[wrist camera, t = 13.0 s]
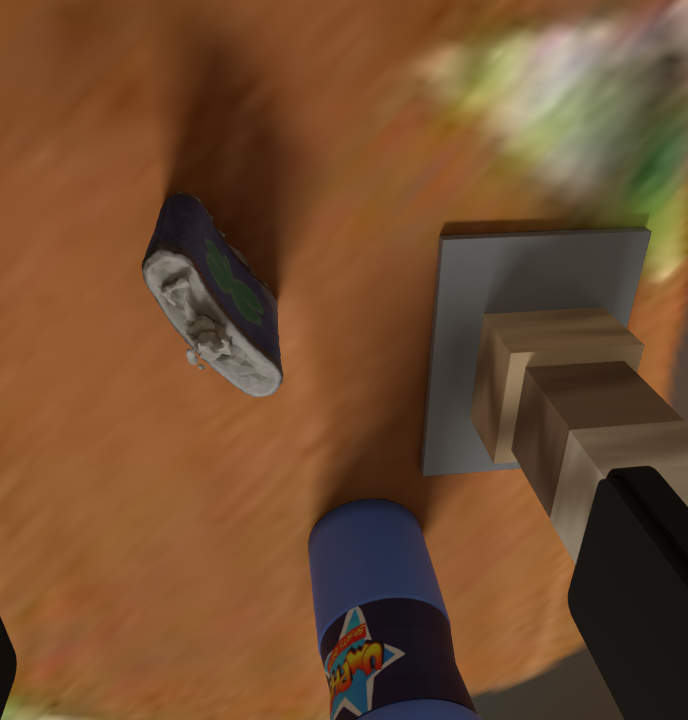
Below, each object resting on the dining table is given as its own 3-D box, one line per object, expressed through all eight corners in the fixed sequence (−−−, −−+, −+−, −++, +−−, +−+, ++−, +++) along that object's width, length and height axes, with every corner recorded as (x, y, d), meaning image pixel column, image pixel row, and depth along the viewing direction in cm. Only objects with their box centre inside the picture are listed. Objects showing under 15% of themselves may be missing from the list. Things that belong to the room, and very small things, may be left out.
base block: (483, 314, 40) (510, 353, 35) (603, 307, 40) (644, 344, 36) (469, 417, 44) (493, 463, 39) (579, 409, 45) (614, 454, 40)
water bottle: (446, 529, 50) (591, 930, 29) (369, 597, 53) (448, 1006, 32) (360, 478, 46) (454, 896, 25) (282, 554, 49) (305, 986, 28)
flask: (285, 306, 39) (295, 405, 29) (246, 331, 39) (244, 436, 30) (188, 180, 34) (164, 250, 25) (145, 210, 35) (106, 289, 25)
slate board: (439, 235, 37) (443, 240, 37) (644, 227, 39) (651, 231, 38) (420, 469, 47) (422, 476, 46) (586, 455, 48) (591, 462, 47)
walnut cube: (525, 367, 36) (571, 429, 31) (624, 360, 37) (685, 421, 31) (511, 450, 39) (550, 519, 34) (602, 442, 40) (654, 509, 35)
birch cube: (569, 429, 31) (633, 517, 26) (683, 420, 31) (768, 503, 26) (549, 519, 34) (602, 614, 29) (654, 509, 34) (724, 600, 29)
